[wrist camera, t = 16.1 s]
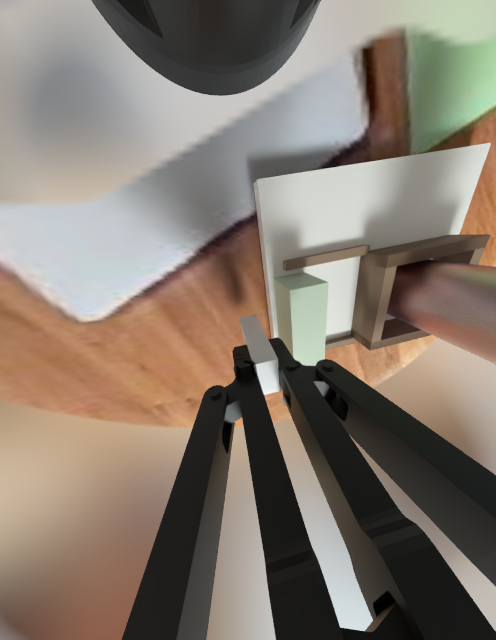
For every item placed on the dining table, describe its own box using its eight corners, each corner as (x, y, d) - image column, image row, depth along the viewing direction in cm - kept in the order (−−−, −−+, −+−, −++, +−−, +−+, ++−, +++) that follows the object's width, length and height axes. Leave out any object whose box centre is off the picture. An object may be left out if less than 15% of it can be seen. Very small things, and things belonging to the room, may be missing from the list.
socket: (361, 252, 17) (388, 255, 14) (448, 234, 18) (490, 234, 15) (350, 335, 21) (370, 350, 19) (421, 318, 22) (449, 330, 19)
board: (253, 184, 14) (259, 176, 12) (468, 150, 16) (503, 138, 14) (272, 351, 22) (278, 362, 20) (416, 316, 24) (434, 324, 22)
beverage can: (428, 251, 18) (1019, 300, 5) (413, 304, 21) (764, 430, 8) (375, 262, 18) (867, 352, 4) (366, 315, 20) (652, 471, 7)
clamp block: (273, 278, 16) (289, 290, 13) (304, 271, 17) (328, 282, 13) (279, 347, 20) (294, 372, 17) (304, 341, 20) (324, 364, 17)
